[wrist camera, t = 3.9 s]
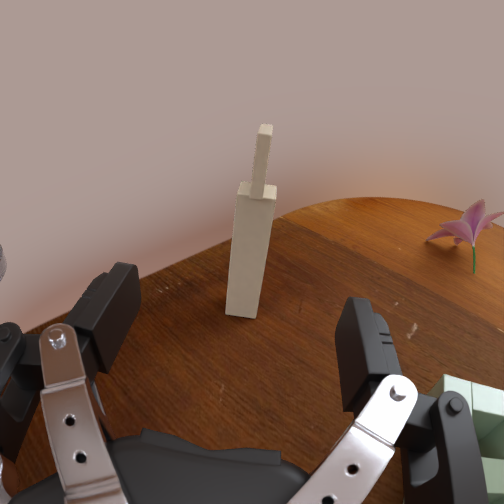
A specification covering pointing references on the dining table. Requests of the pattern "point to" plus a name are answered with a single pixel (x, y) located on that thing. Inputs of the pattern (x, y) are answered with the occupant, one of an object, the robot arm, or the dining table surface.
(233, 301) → the cream offset-tab post
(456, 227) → the lily
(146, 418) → the dining table surface
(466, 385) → the caddy
